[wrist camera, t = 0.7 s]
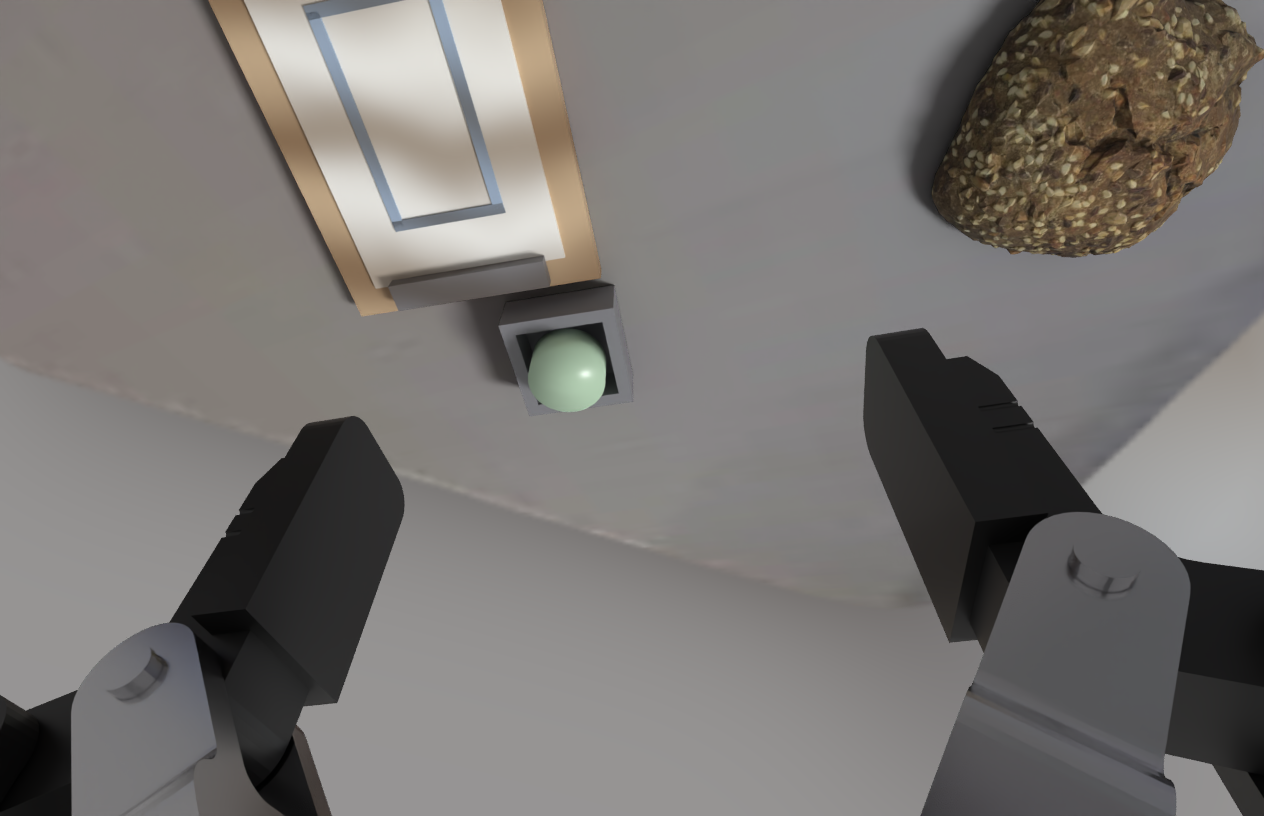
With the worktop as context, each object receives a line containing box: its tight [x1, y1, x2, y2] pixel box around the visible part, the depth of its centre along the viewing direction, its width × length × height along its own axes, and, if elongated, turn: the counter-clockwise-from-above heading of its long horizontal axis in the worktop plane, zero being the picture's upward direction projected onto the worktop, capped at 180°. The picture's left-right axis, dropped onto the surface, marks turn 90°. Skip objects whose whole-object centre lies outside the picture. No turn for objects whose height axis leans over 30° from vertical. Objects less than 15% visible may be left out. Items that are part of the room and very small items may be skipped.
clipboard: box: [208, 0, 601, 316], centre depth 29 cm, size 16×13×2 cm
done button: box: [528, 328, 606, 412], centre depth 34 cm, size 4×4×2 cm
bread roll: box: [932, 0, 1264, 258], centre depth 28 cm, size 13×12×5 cm
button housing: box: [498, 285, 633, 416], centre depth 36 cm, size 6×6×2 cm
